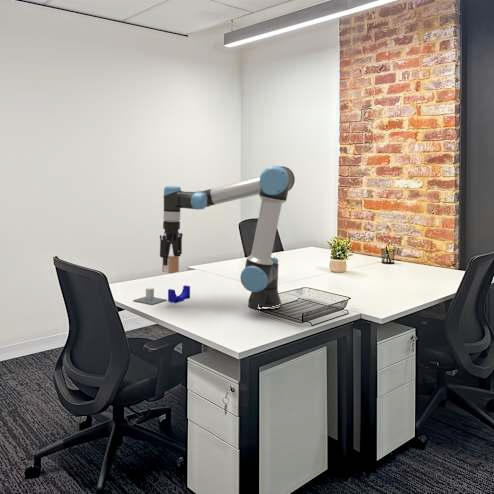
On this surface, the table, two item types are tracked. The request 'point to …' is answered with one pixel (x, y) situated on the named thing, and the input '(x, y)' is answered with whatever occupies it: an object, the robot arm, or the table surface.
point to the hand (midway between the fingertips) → (170, 271)
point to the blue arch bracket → (181, 297)
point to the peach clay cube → (172, 264)
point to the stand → (150, 298)
